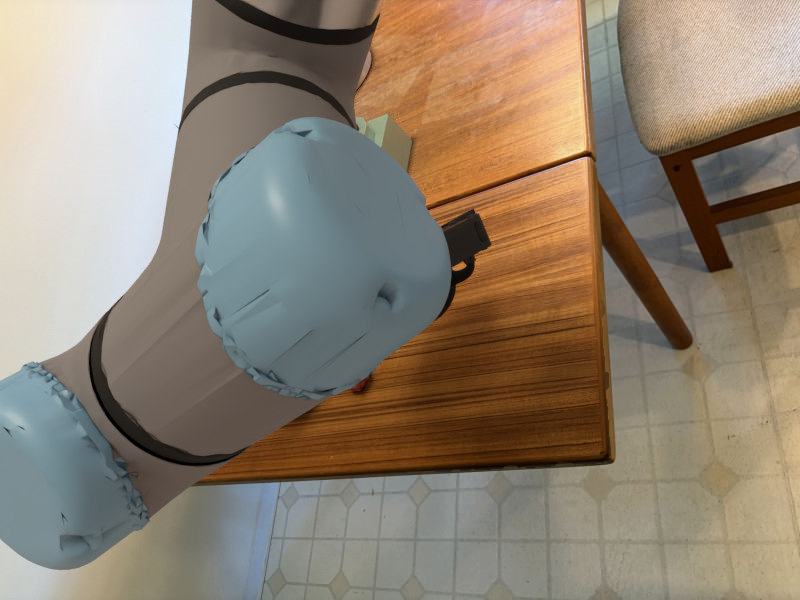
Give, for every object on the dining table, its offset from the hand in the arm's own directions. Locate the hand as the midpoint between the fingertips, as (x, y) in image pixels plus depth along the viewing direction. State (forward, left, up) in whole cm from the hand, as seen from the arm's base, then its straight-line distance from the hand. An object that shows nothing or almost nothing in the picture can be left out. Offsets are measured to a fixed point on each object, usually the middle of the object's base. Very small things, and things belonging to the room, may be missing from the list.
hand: (415, 248), depth 51 cm
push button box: (+19, -24, -13) cm, 33 cm away
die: (+15, +8, -13) cm, 21 cm away
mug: (-1, +2, -5) cm, 5 cm away
